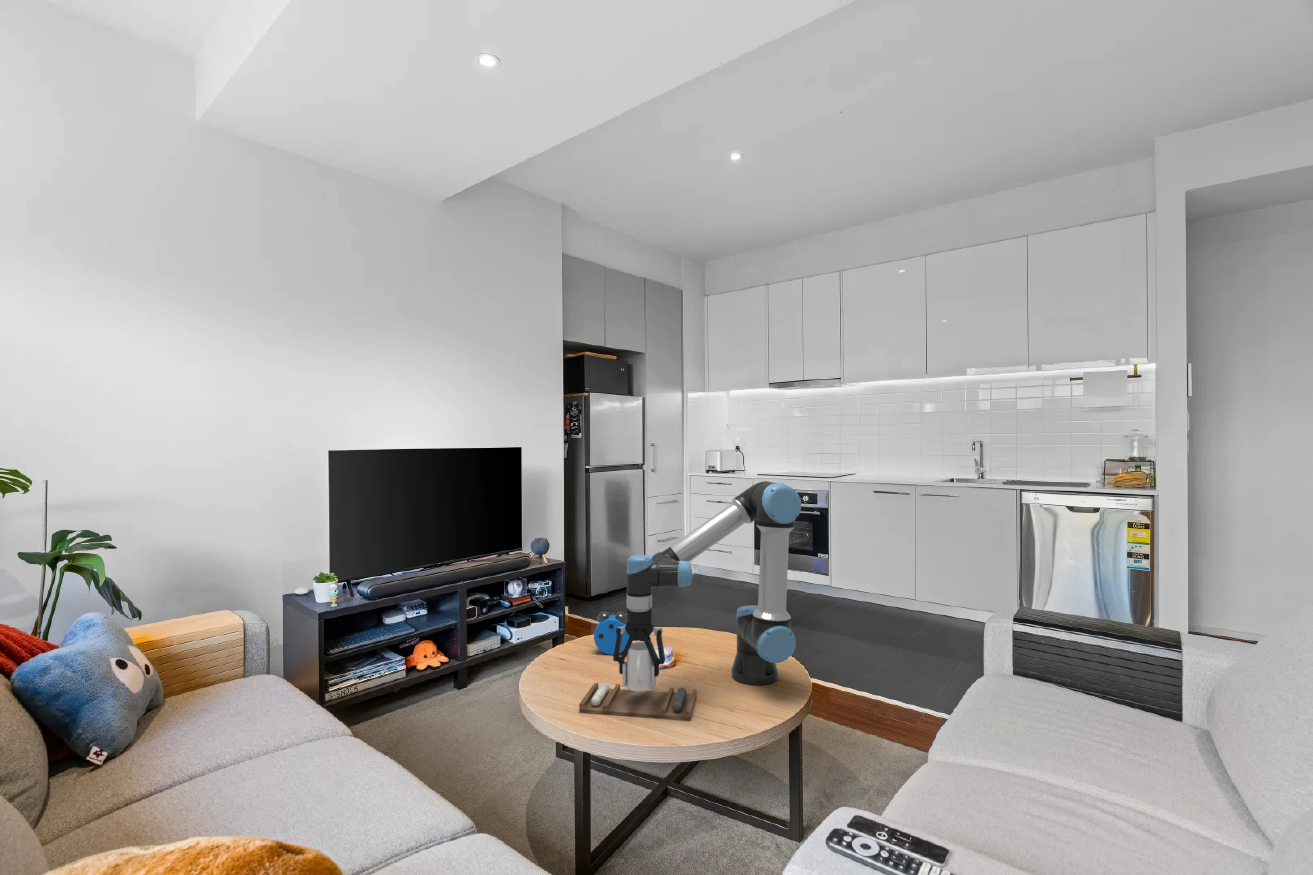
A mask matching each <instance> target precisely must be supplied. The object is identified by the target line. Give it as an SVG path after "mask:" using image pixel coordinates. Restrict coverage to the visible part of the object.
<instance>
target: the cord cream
mask: <svg viewBox="0 0 1313 875" xmlns="http://www.w3.org/2000/svg"><path fill="white" fill-rule="evenodd" d="M598 688H599V689H598V690H597V692H596V693H595V695H594V696H593V697H592V699H591V703H592V705H594V706H598V705H599V704H600V703H601V701H602V700H603V698H604V697H605V695H606V694H607V692H608V690H609V688H610V685H609V683H607V682H603V683H601V684H600V686H598Z"/></svg>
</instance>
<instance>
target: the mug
mask: <svg viewBox="0 0 1313 875" xmlns="http://www.w3.org/2000/svg"><path fill="white" fill-rule="evenodd" d="M653 647H654V648H655V645H654V644H653ZM626 661H627V684H626V686H625V687H626V690H631V691H636V692H644V691H652V690H653V689H652V664H653V661H652V658H651V656H650V653H649V651H648V649H647V646H646V645H645V643H644V641H633V642H632V644H631V647H630V648H629V650H628V652H627V656H626Z"/></svg>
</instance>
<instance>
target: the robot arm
mask: <svg viewBox="0 0 1313 875" xmlns="http://www.w3.org/2000/svg"><path fill="white" fill-rule="evenodd" d="M801 510H802V501H801V497H800V495H799V493H798V492H797V491H796V490H795V489H794V487H792V486H790V485H787V484H785V483H783V482H782V483H781V482H772V481H767V480H766V481H764V480H763V481H759V482H757V483H755V484H753V485H751V486H750V487H748V488H747V489H745V490H744V491H743V492H741V493H739V494H738V495H737V496H735V497H734V498H733V499H732V500H731V504H729V505H727V507H725V508H724V509H722V510H721V511H719V512H718V513H716V514H715V515H714V516H712V517H710V518H709V519H708V520H707V521H705V522H704V523H702V524H700V525H699V526H698V527H697V528H694V529H693V530H692V531H691V532H689V533H688V534H686V535H685V536H684V537H682V538H681V539H679V540H678V541H676V542H674V543H673V544H671V546H669V547H668V548H666V549H664V550H663V551H657V552H655V553H653V554H652V555H651V556H650V555H646V554H634V555H631V556H628V558H627V562H626V571H625V572H626V608H627V609H626V615H627V624H626V626H623V627H621V626H618V628H617V629H616V633H617V639H616V645H615V651H614V655H612V660H613V661H614V662H617V663H618V664H619V666H618V667H619V668H618V672H619V675H622V688H623V687H624V688H625V687H626V684H627V660H626V659H627V652H628V650H629V648H630V647H631V644H632V643H634V642H644V643H645V645H646V646H647V649H648V651H649V653H650V656H651V658H652V661H653V664H652V690H653V689H655V688H656V683H657V682H656V681H657V680H656V677H659V674H660V665H664V664H665V663H666V662H665V661H666V653H665V649H664V643H663V632H664V631H663V628H662V627H659V628H656V627H655V626H654V625H653V609H652V607H653V589H659V588H664V589H665V588H682V587H689V586H690V585H692V581H693V568H692V565H691V562H692V561H693V560H695V558H697V557H699V556H700V555H701V554H703V553H704V552H705V551H707V550H709V549H710V548H711V547H713V546H714V545H716V544H717V543H719V542H720V541H721V540H723V539H724V538H726V537H727V536H729V535H730V534H731V533H733V532H734V531H736V530H737V529H739V528H740V527H741V526H743V525H744V524H749V525H750V524H751V523H752V522H754V521H756V527H757V528H758V530H759V531H760V545H759V546H760V548H759V550H760V551H759V573H758V576H759V578H758V579H759V580H758V599H757V600H758V601H757V602H758V603H757V605H755V604H754V605H743V606H740V607H738V608H736V609H737V610H736V617H735V620H736V654H735V656H734V660H733V663H732V667H731V677H732V679H733V680H735V681H737V682H739V683H742V684H745V685H755V686H760V685H761V686H762V685H763V686H764V685H769V684H773V683H776V681H778V679H779V671H778V670H779V669H778V667H777V664H779V663H782V662H785V661H787V660H788V659H789V658H790V657H792V655H793V654H794V652H795V650H796V647H797V646H796V645H797V641H796V636H795V634H794V632H793V631H792V630H791V627H792V626H791V624H792V622H791V621H792V620H791V619H792V617H791V615H790V613H789V612H788V611H787V599H788V598H787V593H788V571H789V570H788V569H789V568H788V566H789V546H790V544H789V543H790V542H789V541H790V533H791V532H792V531H793V530H794V529H795V522H796V521H795V520H796V519H797V518H798V517H799V515H800V514H801ZM625 630H626V632H627V633H628V635H629V636H630V637H629V639H628V641H627V644H626V646H625V649H624V650H623V651H622V652H621V653H622V654H621V653H620V648H621V642H622V636H623V633H624V631H625ZM652 633H653V634H654V636H655V637H656V639H655V640H656V646H657V652H658V655H657V652H656V649H655V646H654V647H653V645H654V644H653V642H652V638H651V635H652ZM620 654H621V656H620ZM658 656H659V657H658Z"/></svg>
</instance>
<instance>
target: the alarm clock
mask: <svg viewBox="0 0 1313 875" xmlns="http://www.w3.org/2000/svg"><path fill="white" fill-rule="evenodd" d="M596 620H597V622H598V623H597V625H596V627H595V629H594V632H593V641H594V643H595V646H596V648H597V649H598V650H599V651H601V652H602V653H604V654H606V655H609V656H611V655H612V656H614V651H615V645H616V639H617V633H616V629H617V628H618V626H621V627H623V626H626V624H627V613H625V612H623V611H619V612H617V613H613V612H612V613H609V612H607V611H600V612H599V614H598V615H597V617H596ZM629 637H630V636H629V635H628V633H627V632H626V630H625V631H624V633H623V636H622V642H621V648H620V653H619V654H621V653H623V651H624V649H625V646H626V644H627V641H628V639H629Z"/></svg>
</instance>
